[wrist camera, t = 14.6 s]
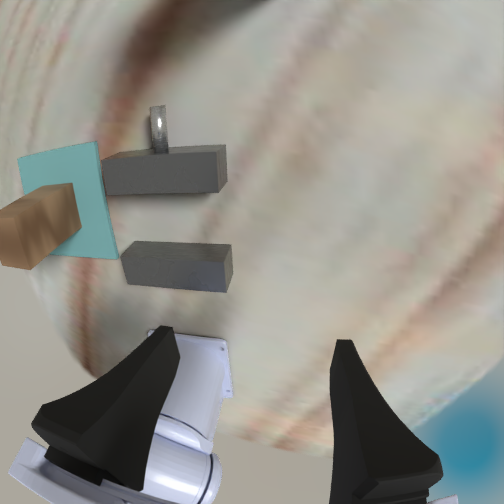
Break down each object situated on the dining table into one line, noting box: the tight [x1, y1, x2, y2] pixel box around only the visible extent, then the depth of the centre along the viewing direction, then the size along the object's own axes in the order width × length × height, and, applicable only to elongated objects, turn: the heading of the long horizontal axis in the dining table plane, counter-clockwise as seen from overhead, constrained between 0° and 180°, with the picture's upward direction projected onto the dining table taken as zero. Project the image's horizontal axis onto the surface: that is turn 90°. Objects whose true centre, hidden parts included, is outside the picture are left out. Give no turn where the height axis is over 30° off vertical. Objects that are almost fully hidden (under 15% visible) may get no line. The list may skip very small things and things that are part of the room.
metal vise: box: [101, 105, 233, 293], centre depth 20 cm, size 13×8×2 cm, turn 1°
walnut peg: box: [0, 183, 82, 270], centre depth 19 cm, size 4×4×7 cm
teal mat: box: [17, 141, 119, 259], centre depth 22 cm, size 10×10×1 cm
